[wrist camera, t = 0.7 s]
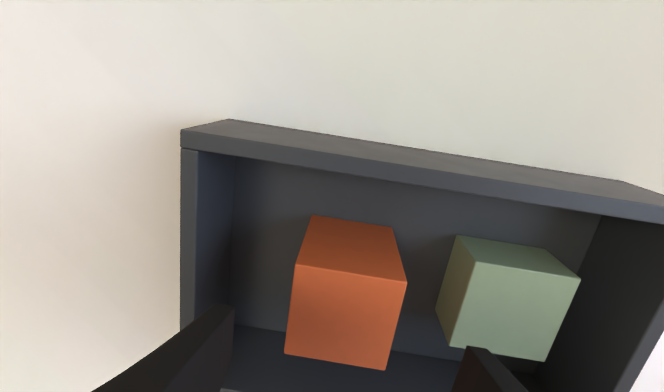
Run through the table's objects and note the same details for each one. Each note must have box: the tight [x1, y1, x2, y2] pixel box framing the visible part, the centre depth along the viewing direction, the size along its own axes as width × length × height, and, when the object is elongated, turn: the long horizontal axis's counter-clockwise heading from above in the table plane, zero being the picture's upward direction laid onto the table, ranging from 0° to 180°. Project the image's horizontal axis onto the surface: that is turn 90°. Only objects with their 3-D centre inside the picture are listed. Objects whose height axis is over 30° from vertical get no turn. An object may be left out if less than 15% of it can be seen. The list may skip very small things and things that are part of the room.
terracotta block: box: [284, 215, 407, 370], centre depth 16 cm, size 4×4×5 cm
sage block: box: [435, 235, 581, 362], centre depth 17 cm, size 5×5×3 cm
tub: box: [180, 119, 664, 392], centre depth 16 cm, size 13×20×5 cm, turn 81°
